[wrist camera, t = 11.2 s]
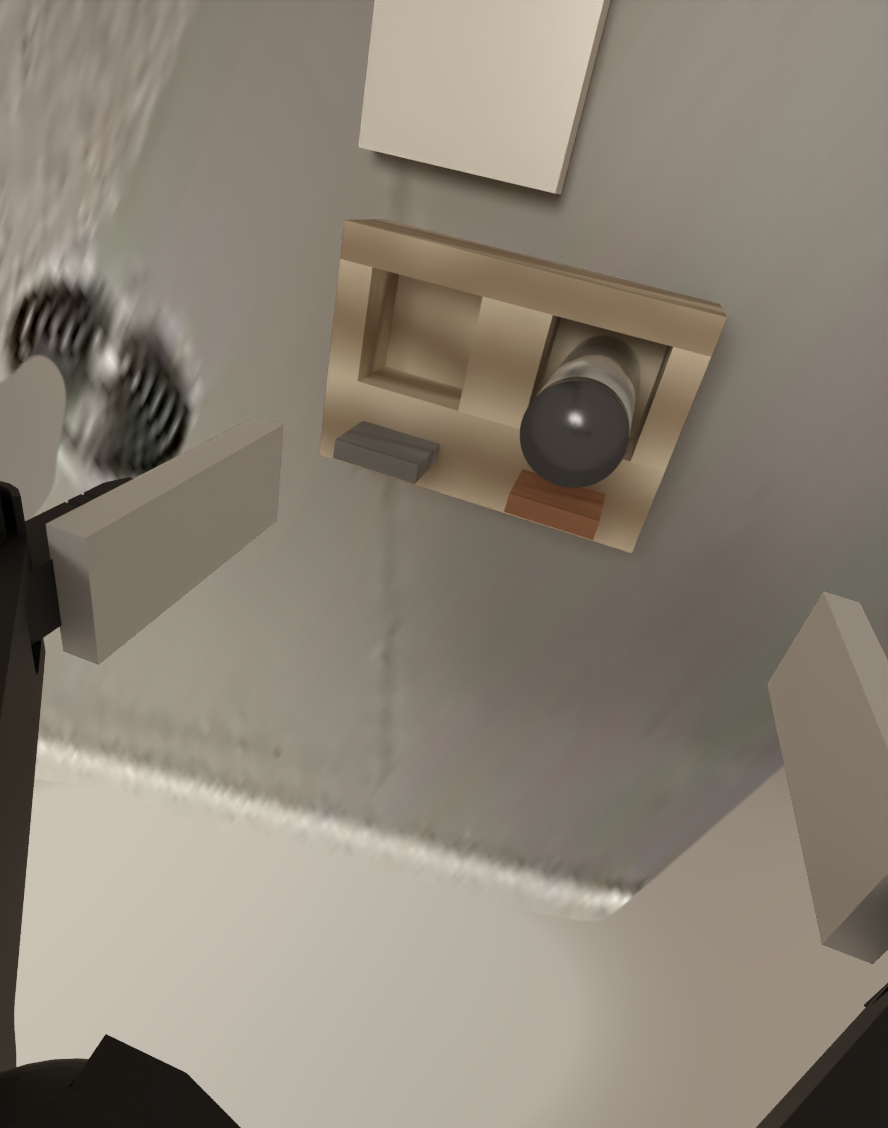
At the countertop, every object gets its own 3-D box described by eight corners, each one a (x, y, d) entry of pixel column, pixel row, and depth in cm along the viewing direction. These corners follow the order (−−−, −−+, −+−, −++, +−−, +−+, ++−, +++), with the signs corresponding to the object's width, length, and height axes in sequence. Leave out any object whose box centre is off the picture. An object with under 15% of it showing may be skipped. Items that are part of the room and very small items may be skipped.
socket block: (382, 219, 35) (310, 220, 28) (719, 304, 33) (734, 329, 25) (354, 430, 41) (289, 475, 34) (635, 516, 39) (628, 585, 31)
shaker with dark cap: (575, 326, 34) (536, 368, 24) (652, 347, 33) (644, 400, 23) (553, 400, 36) (507, 469, 26) (624, 422, 35) (607, 501, 25)
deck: (406, -115, 29) (389, -135, 27) (630, -77, 27) (628, -96, 26) (373, 150, 34) (358, 147, 32) (561, 194, 32) (555, 193, 31)
